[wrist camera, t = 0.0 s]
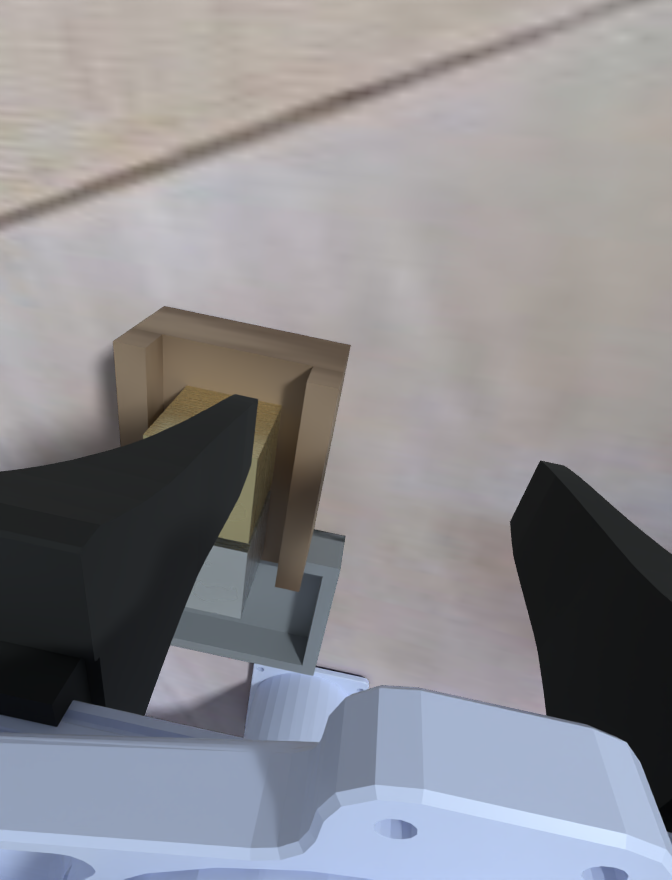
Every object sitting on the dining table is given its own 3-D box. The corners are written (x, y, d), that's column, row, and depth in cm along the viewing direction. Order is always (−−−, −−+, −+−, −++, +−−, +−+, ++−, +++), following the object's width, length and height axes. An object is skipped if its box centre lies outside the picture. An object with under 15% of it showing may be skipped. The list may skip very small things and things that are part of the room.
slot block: (313, 529, 27) (299, 592, 24) (166, 498, 27) (128, 555, 24) (350, 345, 22) (339, 388, 18) (164, 306, 22) (112, 341, 18)
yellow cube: (272, 482, 22) (248, 543, 19) (186, 463, 22) (146, 521, 19) (282, 405, 20) (257, 458, 17) (187, 385, 20) (143, 434, 17)
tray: (319, 641, 32) (313, 676, 30) (141, 602, 33) (123, 634, 30) (345, 536, 27) (340, 569, 25) (135, 491, 28) (113, 520, 25)
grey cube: (262, 552, 25) (240, 618, 21) (184, 536, 25) (149, 599, 21) (270, 490, 22) (247, 552, 19) (185, 472, 23) (147, 531, 19)
